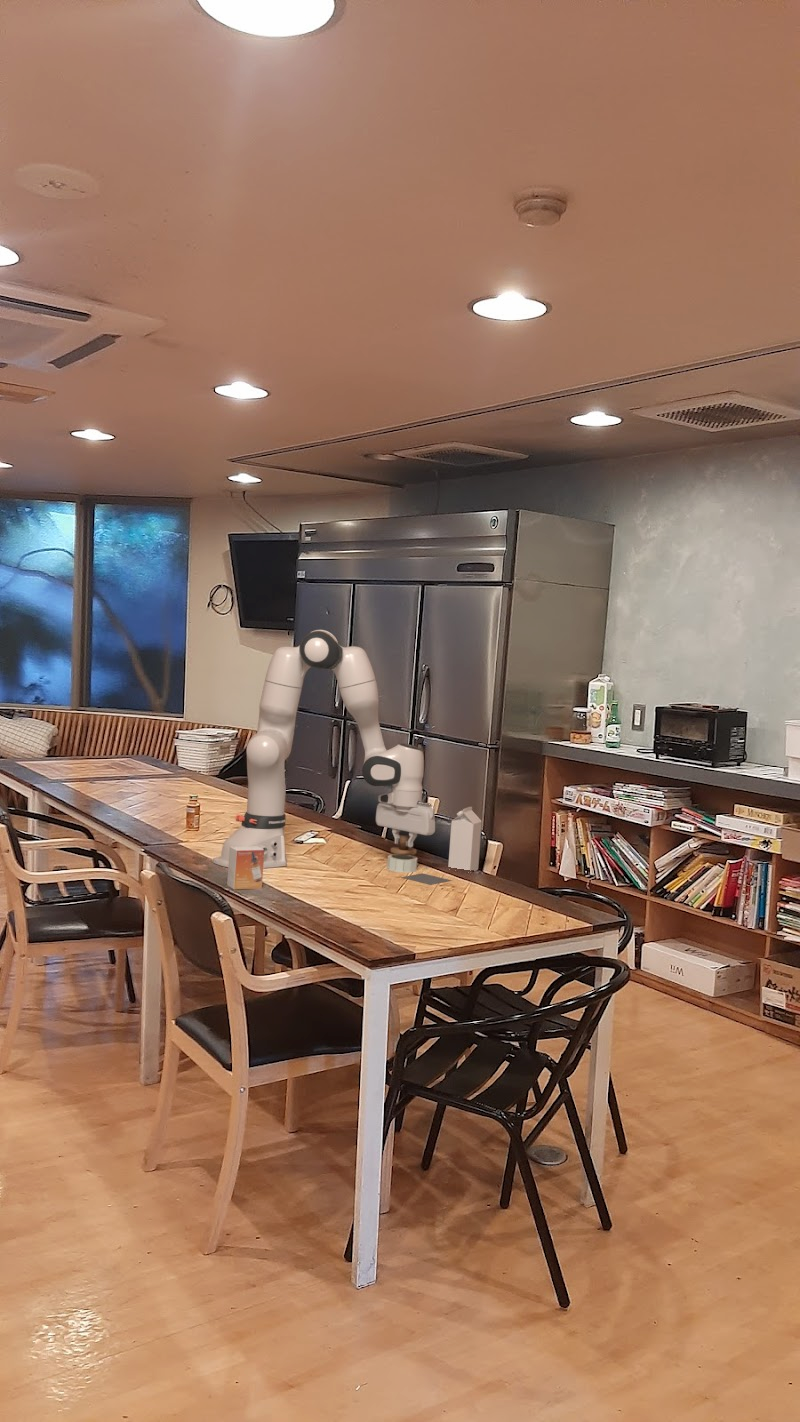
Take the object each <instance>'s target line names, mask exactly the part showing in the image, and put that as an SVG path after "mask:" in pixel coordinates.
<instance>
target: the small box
mask: <svg viewBox="0 0 800 1422" xmlns="http://www.w3.org/2000/svg"><path fill="white" fill-rule="evenodd" d="M263 864H264V849H262V848H260V847H258V846H247V847H230V849H229V865H228V867H227V868H228V869H227V881H226V882H227V883H226V884H227V886H228V887H229V888H231V889H232V890H262V889H263V880H264V878H263V876H264V868H263Z"/></svg>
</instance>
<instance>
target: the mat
mask: <svg viewBox="0 0 800 1422" xmlns="http://www.w3.org/2000/svg"><path fill="white" fill-rule="evenodd" d="M400 878H401V879H403V880H408V881H411V882H412V881H413V882H416V883H417V882H418V883H420V884H421V883H422V884H425V885H428V886H429V885H430V886H434V885H437V884H443V883H447V882H452V881H453V880H452V879H448V878H444V877H440V876H435V875H431V874H428V873H422V872H421V873H417V874H412V875H406V876H401V877H400Z"/></svg>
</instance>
